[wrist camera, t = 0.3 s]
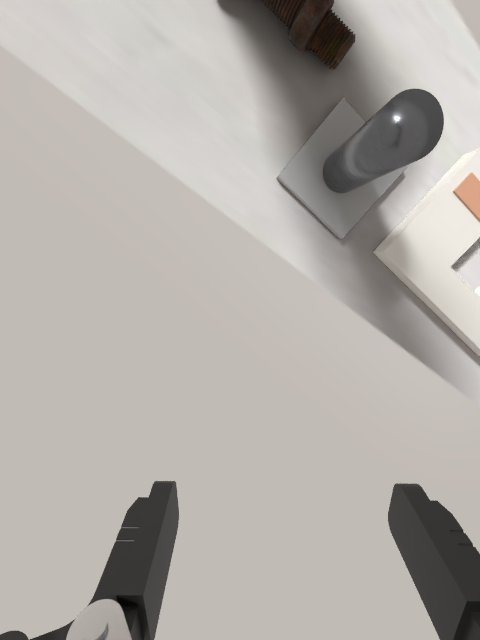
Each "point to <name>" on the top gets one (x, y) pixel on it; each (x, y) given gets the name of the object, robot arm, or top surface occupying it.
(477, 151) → the plate
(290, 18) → the bolt
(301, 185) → the mat
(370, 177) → the cylinder
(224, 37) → the top surface
